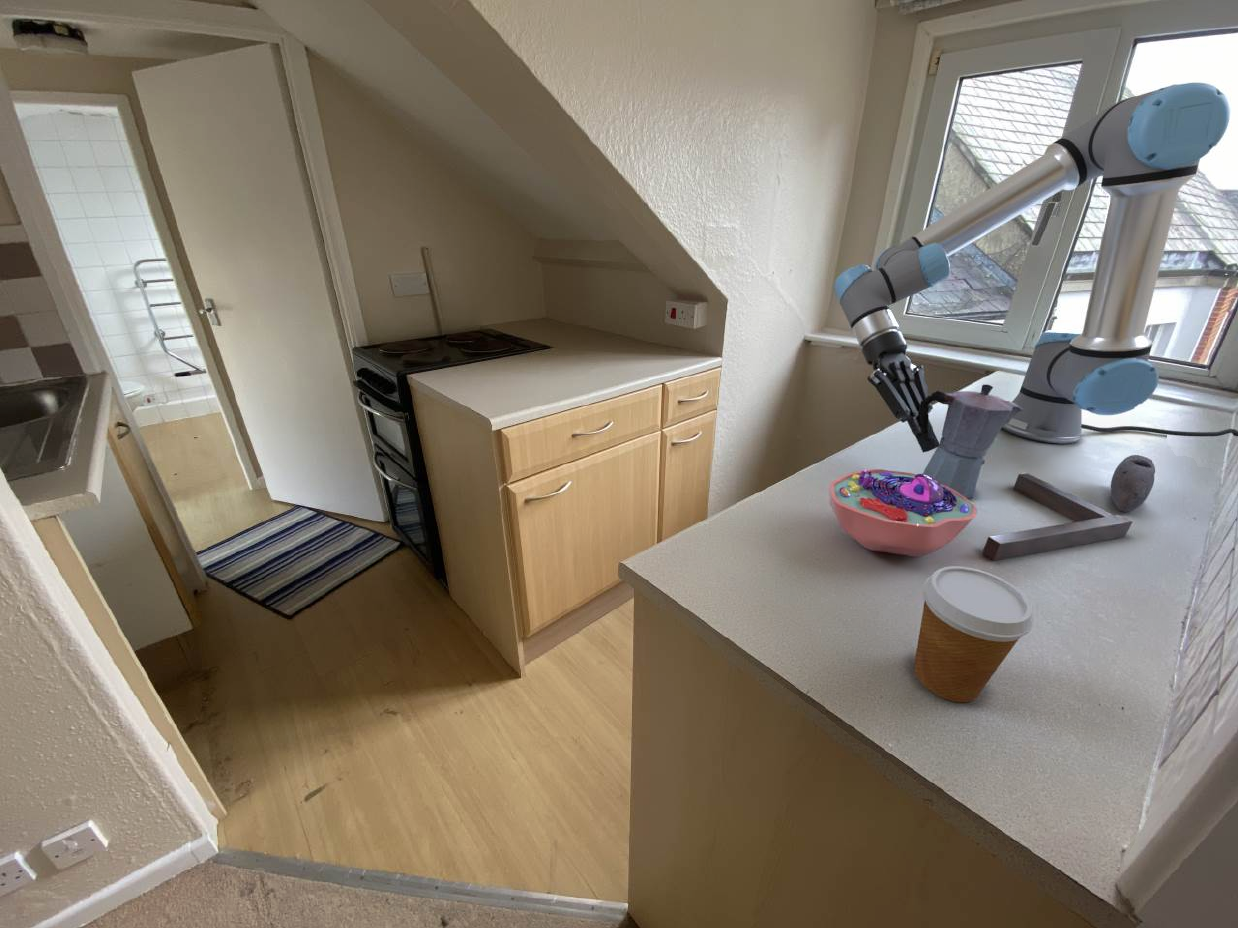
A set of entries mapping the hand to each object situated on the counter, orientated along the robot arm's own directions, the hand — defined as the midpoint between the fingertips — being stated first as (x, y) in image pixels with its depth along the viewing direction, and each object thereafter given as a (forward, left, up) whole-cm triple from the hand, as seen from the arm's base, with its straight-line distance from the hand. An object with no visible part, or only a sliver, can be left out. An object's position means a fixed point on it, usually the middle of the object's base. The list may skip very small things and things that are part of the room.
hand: (931, 449), depth 98 cm
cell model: (+22, +16, -6) cm, 28 cm away
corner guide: (-3, +16, -6) cm, 17 cm away
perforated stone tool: (-28, +16, -6) cm, 33 cm away
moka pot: (-1, +4, -6) cm, 8 cm away
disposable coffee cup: (+34, +40, -6) cm, 53 cm away
